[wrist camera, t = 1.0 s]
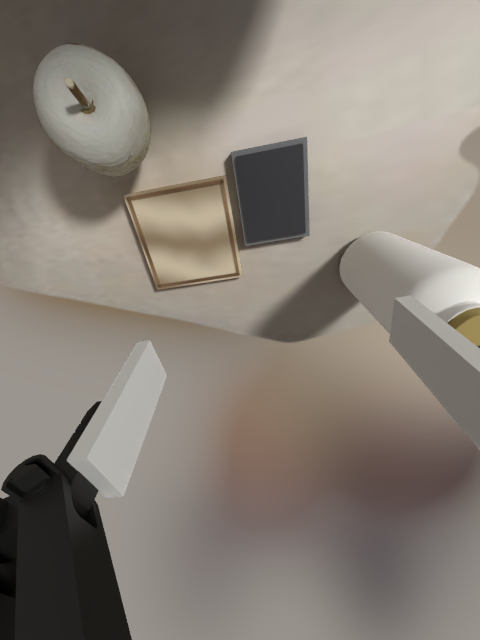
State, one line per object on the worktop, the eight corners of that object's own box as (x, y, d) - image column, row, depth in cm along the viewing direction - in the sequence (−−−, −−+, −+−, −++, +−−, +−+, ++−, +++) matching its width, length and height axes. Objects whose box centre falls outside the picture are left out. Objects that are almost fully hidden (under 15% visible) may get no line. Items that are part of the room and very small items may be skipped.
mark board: (126, 194, 29) (122, 195, 29) (225, 175, 28) (225, 175, 27) (159, 287, 35) (157, 290, 34) (242, 274, 34) (242, 277, 33)
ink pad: (231, 152, 27) (230, 151, 26) (304, 138, 27) (307, 136, 25) (245, 244, 32) (245, 246, 31) (307, 233, 32) (310, 236, 30)
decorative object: (94, 176, 29) (30, 177, 20) (66, 72, 24) (-32, 16, 16) (170, 175, 29) (139, 176, 20) (156, 70, 24) (108, 13, 15)
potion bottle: (336, 294, 36) (407, 386, 20) (337, 235, 32) (429, 294, 16) (396, 285, 35) (518, 373, 20) (405, 224, 31) (571, 274, 15)
